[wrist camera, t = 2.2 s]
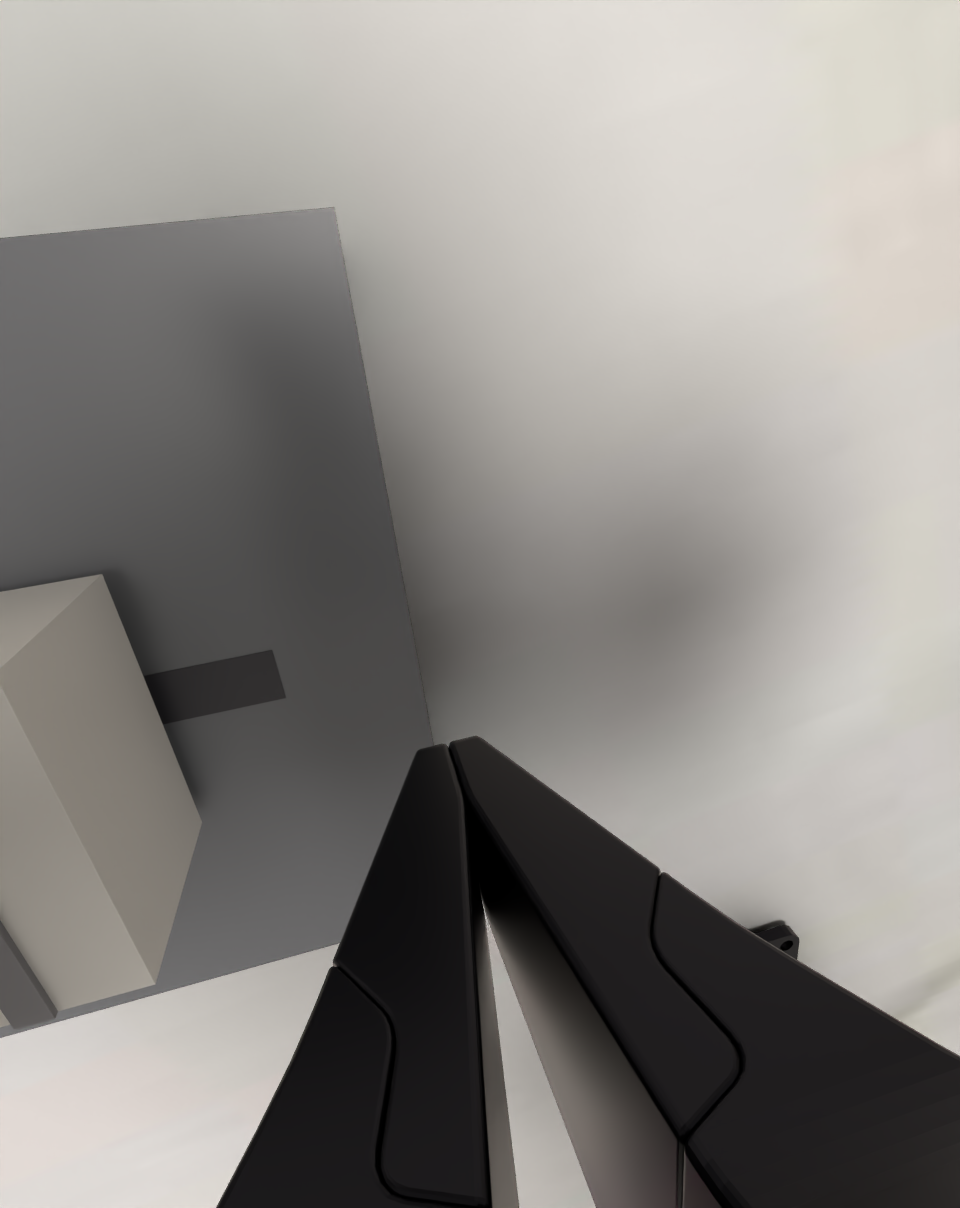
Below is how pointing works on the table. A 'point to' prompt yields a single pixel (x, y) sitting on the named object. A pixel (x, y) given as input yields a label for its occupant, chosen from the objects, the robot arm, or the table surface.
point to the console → (222, 548)
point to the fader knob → (82, 807)
